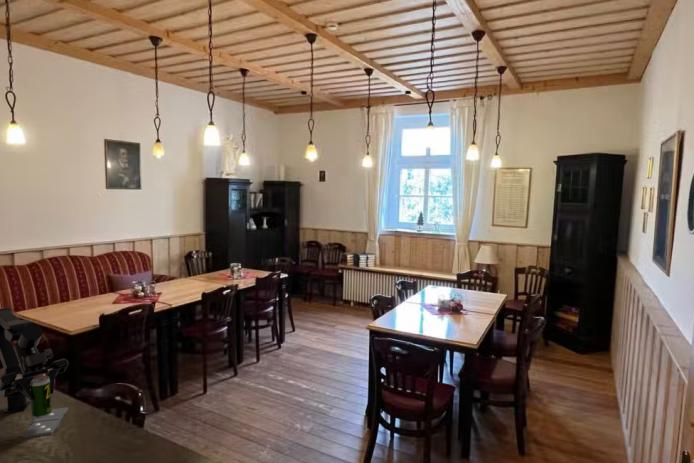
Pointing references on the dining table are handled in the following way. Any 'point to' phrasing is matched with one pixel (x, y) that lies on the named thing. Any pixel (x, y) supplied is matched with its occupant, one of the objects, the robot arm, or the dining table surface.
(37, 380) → the beer can
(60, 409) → the one-dot tile
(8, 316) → the robot arm
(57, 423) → the three-dot tile
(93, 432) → the dining table surface
